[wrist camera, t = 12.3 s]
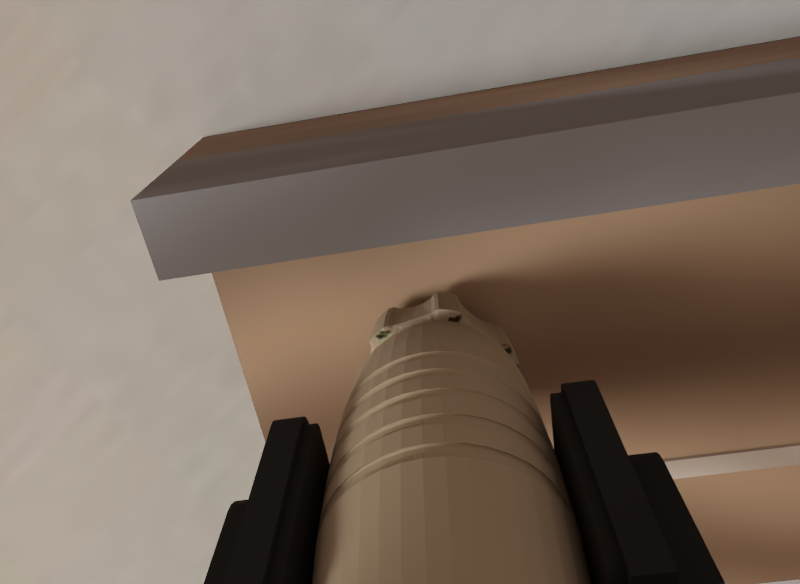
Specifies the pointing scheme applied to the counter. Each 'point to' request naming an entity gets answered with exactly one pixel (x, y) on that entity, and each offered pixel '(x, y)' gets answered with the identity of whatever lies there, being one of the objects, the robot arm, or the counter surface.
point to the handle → (444, 464)
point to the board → (538, 260)
